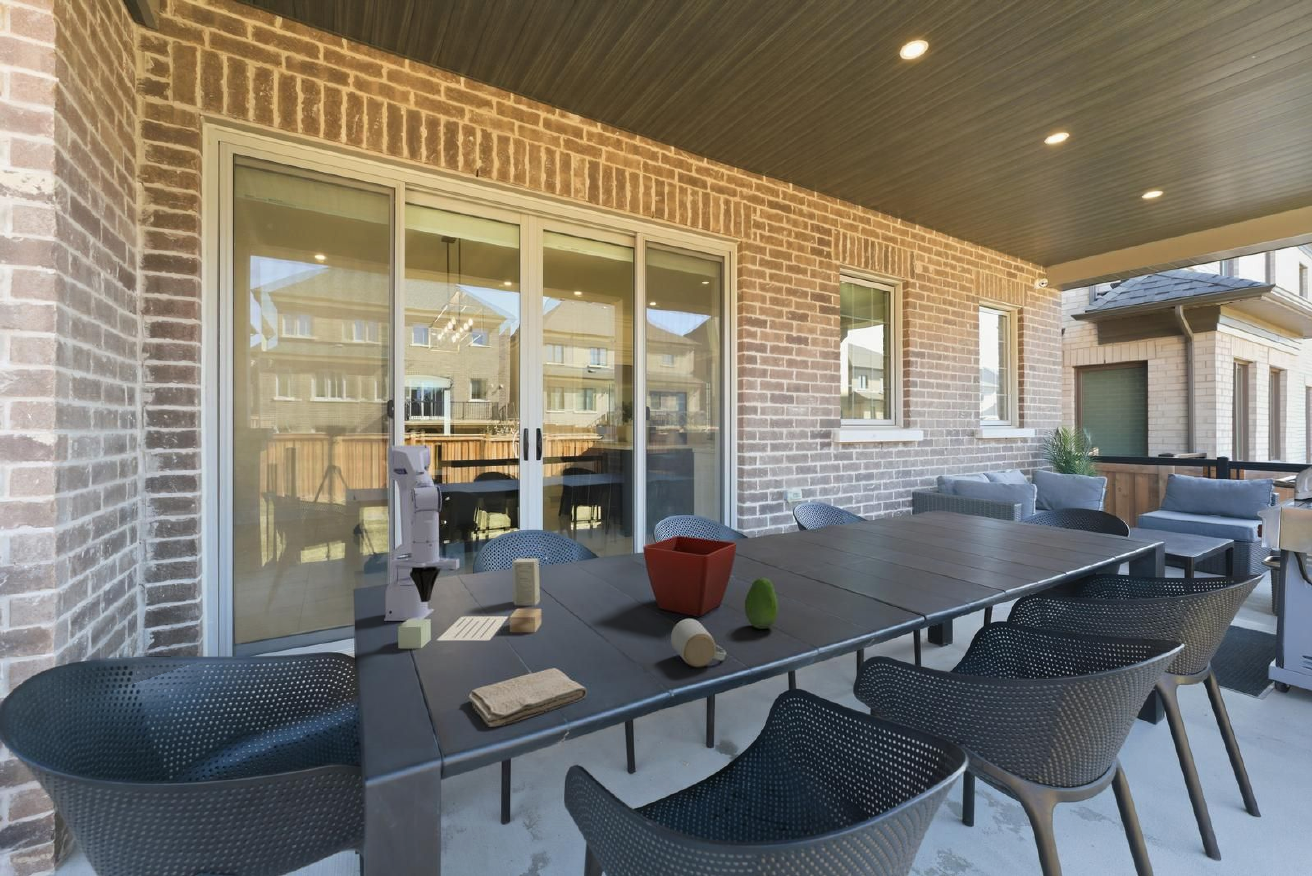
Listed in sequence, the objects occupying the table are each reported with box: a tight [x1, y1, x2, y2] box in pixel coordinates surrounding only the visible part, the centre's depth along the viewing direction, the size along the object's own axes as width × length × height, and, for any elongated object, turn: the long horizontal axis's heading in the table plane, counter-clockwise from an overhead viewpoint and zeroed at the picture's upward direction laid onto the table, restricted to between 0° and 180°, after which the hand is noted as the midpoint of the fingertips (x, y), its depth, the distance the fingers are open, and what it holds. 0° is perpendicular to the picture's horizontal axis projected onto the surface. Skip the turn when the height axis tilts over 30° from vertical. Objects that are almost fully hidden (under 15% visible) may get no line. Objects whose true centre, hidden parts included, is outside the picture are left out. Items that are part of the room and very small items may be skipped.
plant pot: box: [642, 535, 737, 617], centre depth 149 cm, size 19×19×17 cm
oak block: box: [509, 608, 542, 633], centre depth 133 cm, size 6×6×4 cm
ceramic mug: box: [670, 618, 727, 668], centre depth 114 cm, size 11×8×8 cm
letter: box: [436, 615, 510, 642], centre depth 133 cm, size 12×16×1 cm
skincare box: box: [512, 557, 541, 607], centre depth 152 cm, size 6×4×12 cm
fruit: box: [744, 577, 779, 630], centre depth 133 cm, size 8×8×12 cm
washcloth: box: [468, 667, 588, 728], centre depth 98 cm, size 12×18×3 cm, turn 128°
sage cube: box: [397, 618, 432, 649], centre depth 123 cm, size 5×5×5 cm
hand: (425, 600), depth 124 cm, fingers closed
